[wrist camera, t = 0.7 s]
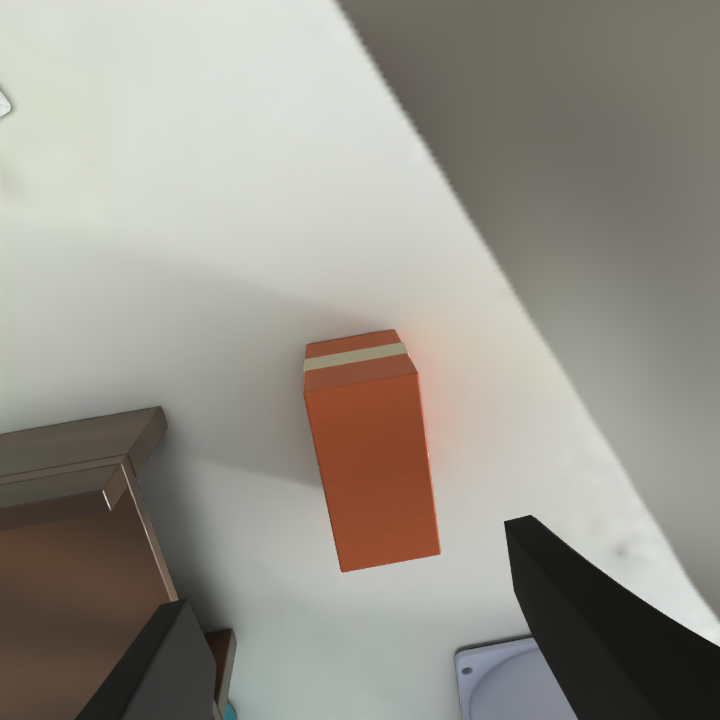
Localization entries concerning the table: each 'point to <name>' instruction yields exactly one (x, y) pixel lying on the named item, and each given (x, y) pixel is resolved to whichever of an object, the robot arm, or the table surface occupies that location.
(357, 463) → the snack box
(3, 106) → the cosmetic box
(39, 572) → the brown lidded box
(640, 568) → the table surface
